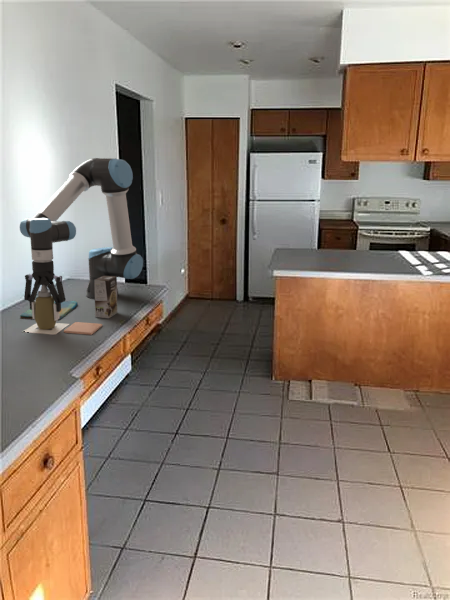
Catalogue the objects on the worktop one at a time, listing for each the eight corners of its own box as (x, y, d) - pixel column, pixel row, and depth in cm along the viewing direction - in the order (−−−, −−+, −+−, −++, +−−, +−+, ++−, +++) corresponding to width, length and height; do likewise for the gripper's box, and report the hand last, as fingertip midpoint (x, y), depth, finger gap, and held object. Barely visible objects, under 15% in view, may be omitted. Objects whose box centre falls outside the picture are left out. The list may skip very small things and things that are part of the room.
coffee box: (109, 318, 209) (108, 280, 204) (94, 317, 210) (93, 279, 206) (118, 312, 217) (117, 276, 213) (104, 311, 218) (103, 275, 214)
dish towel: (79, 306, 227) (78, 300, 226) (60, 321, 204) (60, 315, 204) (41, 304, 228) (41, 298, 227) (18, 319, 205) (18, 313, 204)
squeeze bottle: (55, 330, 191) (53, 284, 186) (33, 331, 190) (30, 284, 185) (59, 324, 199) (56, 279, 194) (37, 324, 197) (34, 279, 193)
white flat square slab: (38, 321, 201) (38, 321, 201) (69, 324, 200) (69, 323, 200) (22, 332, 189) (22, 331, 189) (55, 334, 187) (55, 334, 187)
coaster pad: (75, 323, 200) (75, 321, 200) (102, 325, 199) (102, 323, 199) (63, 332, 190) (63, 330, 190) (91, 334, 189) (91, 332, 188)
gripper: (10, 260, 185) (15, 319, 191) (65, 263, 183) (67, 323, 189) (21, 257, 192) (25, 314, 198) (73, 260, 190) (76, 317, 196)
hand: (46, 318), depth 193 cm, fingers closed on squeeze bottle, 8 cm apart
